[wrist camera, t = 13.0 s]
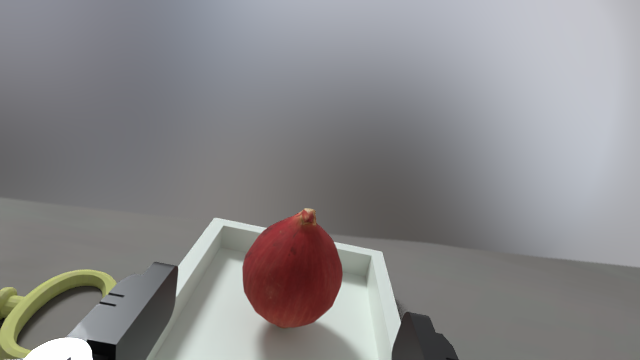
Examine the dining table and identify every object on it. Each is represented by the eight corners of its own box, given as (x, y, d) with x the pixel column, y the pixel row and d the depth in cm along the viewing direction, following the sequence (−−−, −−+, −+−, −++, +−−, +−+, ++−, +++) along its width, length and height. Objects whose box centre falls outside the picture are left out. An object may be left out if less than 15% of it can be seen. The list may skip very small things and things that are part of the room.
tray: (84, 445, 14) (84, 391, 14) (210, 249, 30) (214, 217, 29) (414, 504, 15) (437, 456, 14) (372, 282, 30) (381, 251, 29)
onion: (213, 318, 21) (231, 197, 19) (278, 282, 26) (299, 181, 23) (285, 380, 18) (317, 246, 16) (344, 327, 23) (376, 216, 20)
